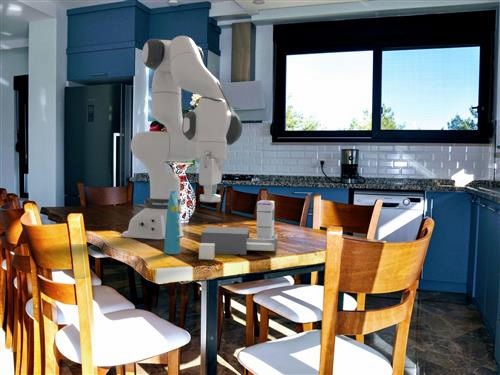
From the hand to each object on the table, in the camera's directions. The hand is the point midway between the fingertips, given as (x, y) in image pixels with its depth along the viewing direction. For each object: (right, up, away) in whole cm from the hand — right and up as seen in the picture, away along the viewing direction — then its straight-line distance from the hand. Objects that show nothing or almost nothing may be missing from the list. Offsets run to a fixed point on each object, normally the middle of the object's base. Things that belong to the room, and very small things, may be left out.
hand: (210, 200), depth 133 cm
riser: (-1, -17, 0) cm, 17 cm away
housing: (+4, -16, +14) cm, 22 cm away
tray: (+14, -15, +13) cm, 25 cm away
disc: (0, 0, 0) cm, 0 cm away
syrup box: (+17, -16, +37) cm, 44 cm away
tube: (-12, -17, +6) cm, 21 cm away
